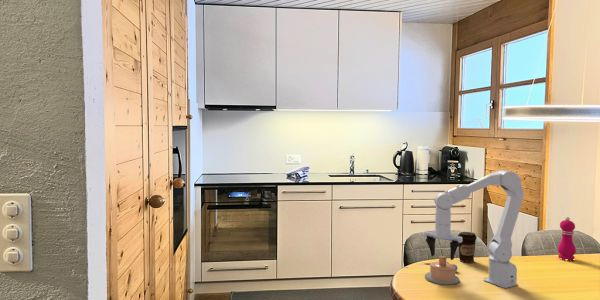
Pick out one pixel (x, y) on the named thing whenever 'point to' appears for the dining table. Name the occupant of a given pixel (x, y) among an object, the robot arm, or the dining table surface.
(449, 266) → the lid with knob
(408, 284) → the dining table surface
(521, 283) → the dining table surface
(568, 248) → the pepper mill
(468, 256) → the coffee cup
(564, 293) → the dining table surface
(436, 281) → the slate plate
